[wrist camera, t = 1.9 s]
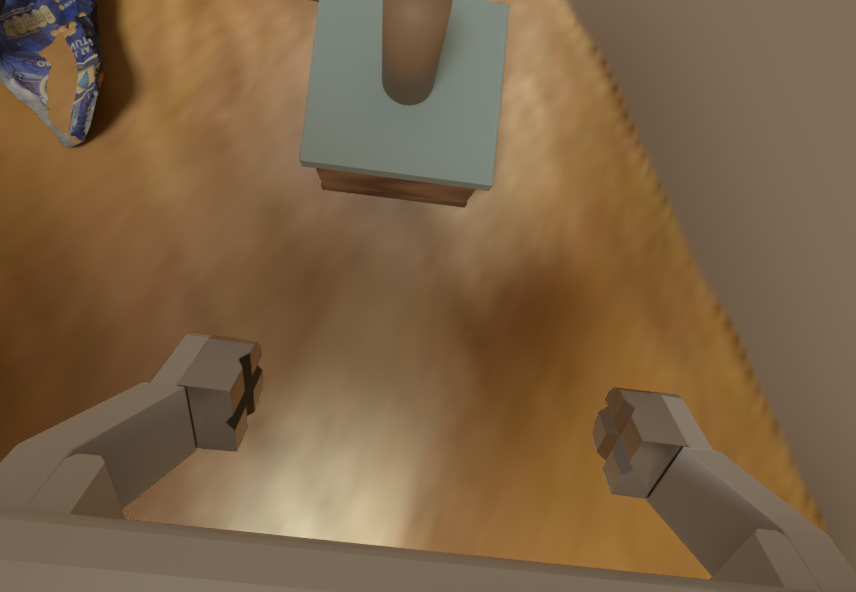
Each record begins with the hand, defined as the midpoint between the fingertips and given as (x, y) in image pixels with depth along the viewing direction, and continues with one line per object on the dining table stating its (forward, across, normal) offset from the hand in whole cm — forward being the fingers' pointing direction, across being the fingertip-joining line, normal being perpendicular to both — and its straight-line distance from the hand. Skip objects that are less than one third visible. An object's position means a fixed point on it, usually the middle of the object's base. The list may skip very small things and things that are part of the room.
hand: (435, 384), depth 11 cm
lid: (+22, -2, +2) cm, 22 cm away
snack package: (+28, -26, 0) cm, 38 cm away
